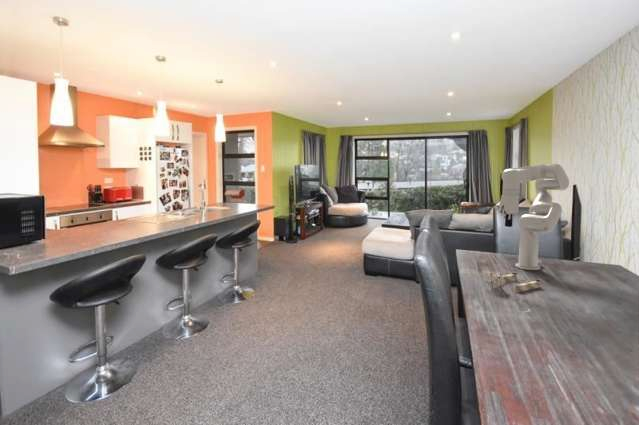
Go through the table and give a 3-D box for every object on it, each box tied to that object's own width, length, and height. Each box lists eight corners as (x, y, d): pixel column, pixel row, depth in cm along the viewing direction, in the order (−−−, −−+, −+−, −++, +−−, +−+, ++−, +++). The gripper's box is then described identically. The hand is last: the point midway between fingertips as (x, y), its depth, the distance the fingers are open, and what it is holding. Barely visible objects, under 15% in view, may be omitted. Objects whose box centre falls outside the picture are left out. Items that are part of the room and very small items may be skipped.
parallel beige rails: (513, 279, 181) (513, 272, 180) (540, 287, 168) (540, 279, 168) (492, 283, 174) (492, 276, 174) (518, 292, 161) (519, 284, 161)
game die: (496, 296, 167) (505, 278, 169) (505, 296, 159) (514, 277, 161) (479, 286, 169) (488, 268, 170) (487, 285, 160) (496, 267, 162)
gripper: (513, 191, 189) (511, 224, 191) (494, 192, 183) (492, 226, 185) (526, 192, 182) (524, 226, 185) (507, 193, 176) (505, 228, 179)
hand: (508, 226), depth 185 cm, fingers closed
